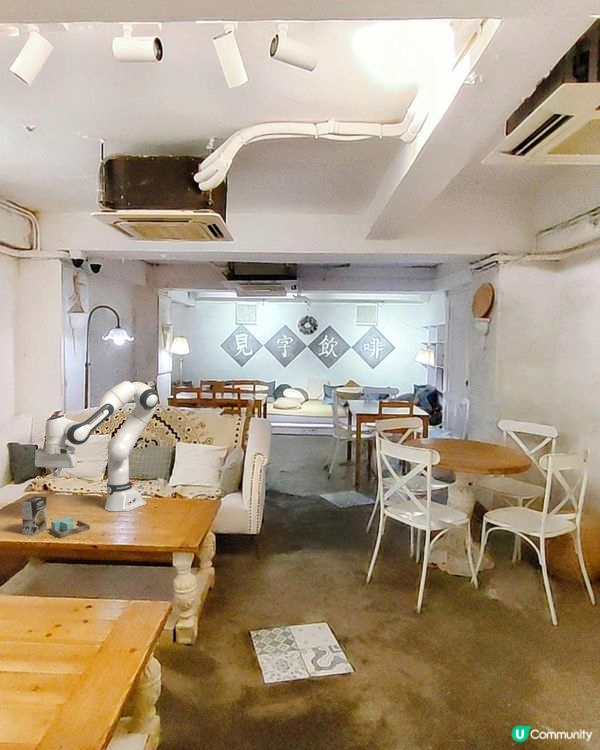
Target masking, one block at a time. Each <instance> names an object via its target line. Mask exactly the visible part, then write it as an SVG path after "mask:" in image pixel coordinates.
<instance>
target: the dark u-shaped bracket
mask: <svg viewBox="0 0 600 750" xmlns="http://www.w3.org/2000/svg"><path fill="white" fill-rule="evenodd" d="M76 524H77V526H78V527H75V528H74V527H73V529H71V530H68V531H64V532H63V531H56V530H54V529H52V528H49V529H48V531H49V534H51V535H52V536H54V537H56V538H58V539H62V538H65V537H70V536H72V535H76V534H78V533H79V534H80V533H81V532H85V531H88V530H91V525H90V524H88V523H85V522H83V521H81V520H77V521H76Z"/></svg>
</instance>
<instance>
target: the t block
mask: <svg viewBox="0 0 600 750" xmlns="http://www.w3.org/2000/svg"><path fill="white" fill-rule="evenodd" d="M50 523H51V528H52V529H54V530H56V531H58V532H64V531H68V530H71V529H74V519H73V517H71V516H68V517H64V518H60V519H57V520H53V521H51V522H50ZM51 528H50V529H51Z"/></svg>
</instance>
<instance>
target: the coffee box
mask: <svg viewBox="0 0 600 750" xmlns="http://www.w3.org/2000/svg"><path fill="white" fill-rule="evenodd" d="M21 502H22V507H21V508H22V509H21V510H22V517H21V518H22V525H21V526H22V528H21V530H22V531H21V533H22V535H27V536H35V535H37V534H39V533H41V532H43V531H45V530H47V496H40V495H39V496H38V495H35V496H32V497H30V498H27V499H25V500H22V501H21Z"/></svg>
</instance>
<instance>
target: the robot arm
mask: <svg viewBox="0 0 600 750" xmlns="http://www.w3.org/2000/svg"><path fill="white" fill-rule="evenodd" d="M159 397H160V395H159V394H158V392H157V390H155V389H153V388H152V387H151V386H150V385H148V384H146V383H144V382H142V381H140V380H138V379H137V380H131V381H129V380H124V381H122V382H120V383H118V384H116V385H115V386H113V387H112V388H110V389H109V390H108V391H107V392H105V393H104V394H103V395H102V396H101V397H100V399H99V403H98V407H97V409H96V411H95V412H93V414H91V415H90V416H89V417H87V419H85V420H84V421H82V422H80V421H77V420H72V419H69V418H67V417H65V416H64V415H54V416H51V417H49V418H47V420H46V422H45V438H46V439H45V448H43V447H38V448H37V449H36V450H35V457H34V466H35V467H36V468H49V471H50V472H51V476H52V477H60V475H61V474H60V473H61V471H62V469H74V468H76V466H77V465H78V459H77V453H76V452H75V451H76V447H75V446H77V445H78V446H79V445H80V446H81V445H83V444H85V443H86V442H87V441H88V440H89V439H90V436H91V435H92V433H93V432H94V431H95V430H96V429H97V428H98V427H99V426H101V424H103V423H104V422H105V421H106V420H107V419H109V417H111V416H112V415H113V414H115V413H116V412H118V411H119V410H120V409H122V408H123V407H124V406H125V405H127V404H128V403H129V402H130V401H134V402H135V403H136V405H135V407H133V410H132V411H131V412H130V414H129V415H128V417H127V418H126V419H125V420H124V422H123V424H121V427H120V428H119V431H118V432H117V434H116V436H113V437H111V438H110V439H109V441H108V442H107V483H106V493H107V494H106V502H105V506H104V510H105V511H109V512H129V511H132V510H135V509H137V508H140V507H142V506H145V505H147V501H146V500H144V499H143V497H142V496H143V494H141V492H140V491H138V489H136V488H134V486H135V485H136V481H130V462H129V461H130V460H129V459H130V458H129V455H130V453H131V452H132V450H133V448H134V446H135V445H136V443H137V442H138V440H139V438H140V436H141V435H142V433H143V432H144V430H145V429H146V427H147V425H149V423H150V421H151V420H152V418H153V416H154V414H155V412H156V409H157V408H156V406H157V405H158V402H159ZM66 441H68V442H70V444H72V445H74V446H71V445H69V444H67V443H66ZM55 468H56V470H57V471H55Z"/></svg>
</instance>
